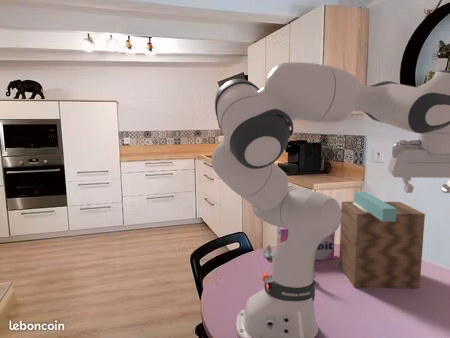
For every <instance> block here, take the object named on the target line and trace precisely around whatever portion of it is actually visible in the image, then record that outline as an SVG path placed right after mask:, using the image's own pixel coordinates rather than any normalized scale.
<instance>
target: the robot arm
mask: <svg viewBox="0 0 450 338" xmlns="http://www.w3.org/2000/svg"><path fill="white" fill-rule="evenodd" d="M214 111H215V115H216V120H217V124H218V128H219V130H221V132H222V134H223V139H222V140H221V142H220V143H219V144H217V145H216V146H215V148H214V150H213V152H212V155H211V161H210V162H211V166H212V169H213V171H214V172H215V174H216V175H217V176H218V177H219V179H221V181H222V182H223V183H224V184H225V185H226V186H227V187H229V189H231V190H232V191H233V192H234V193H235V194H237V195H238V196H240V198H243V199H244V200H245V201H247V202H248V203H250V205H251V207H252V211H253V214H254V215H255V216H256V217H257V218H259V219H260V220H261V221H263V222H265V223H267V224H270V225H272V226H276V227H277V226H279V227H282V228H286V229H288V238H287V240H286V241H284V242H281V243H279V244H278V245H277V244H276V246H275V247H274V248H273V250H272V251H273V253H272V259H271V260H272V261H271V262H272V263H271V265H272V267H271V268H272V269H271V270H272V271H271V275H269V273H267V272H263V273H262V276H261V278H262V282H263V283H264V287H263V288H262V289H261V290H259V291H258V292H256V293H255V294H252V295H251V296H249V298H248V299H247V301H246V303H245V306H244V309H242V310H240V312H239V313H238V314H237V317H236V321H235V329H236V330H235V331H236V333H237V336H238V337H239V338H315V337H316V336H317V335H318V333H319V327H318V322H317V319H316V313H315V304H314V302H315V299H316V298H315V297H316V280H315V278H313V275H314V273H315V271H314V270H315V261H316V260H315V254H316V251H317V248H318V246H319V244H320V243H321V242H322V241H323V240H324V239H325V238H326V237H328V236H330V235H332V234H333V233H334V232H335V233H336V231H338V228H340V226H341V218H342V212H341V206H340V203H339V201H338V200H337V199H336V198H334V197H331V196H329V195H327V194H323V193H321V192H319V191H312V190H307V189H302V188H296V187H293V186H289V177H288V175H287V173H286V172H285V171H284V170H283V169H282V168H281V167H279V166H278V164H276V163H275V162H276V161H277V160H279V159H280V157H281V156H282V155H283V154H284V152H285V150H286V148H287V146H288V143H289V139H290V138H291V136H292V135H293V134H294V123H293V121H294V120H300V121H301V120H303V121H309V122H314V123H325V124H326V123H327V124H328V123H329V124H330V123H339V122H344V121H345V120H347V119H348V118H349V117H350V116H351V115H352V114H353V113H354V112H362V113H364V114H366V116H368V117H369V118H370V119H371V120H373V121H375V122H380V123H384V124H387V125H390V126H393V127H396V128H399V129H401V130H404V131H408V132H410V133H415V134H418V136H417V137H418V138H417V139H416V140H415V139H412V140H405V139H402V140H400V141H398V142H396V143H395V144H394V145H393V147H392V150H391V157H390V160H389V164H388V168H387V169H388V172H389V173H390V174H391V175H392V176H393V177H394V178H401V180H402V182H403V184H404V187H403V191H404V193H406V194H407V193H411V194H412V193H413V192H414V186H413V185H412V184H411V183H410V182H411V181H412V178H421V179H422V178H424V179H425V178H428V179H429V178H430V179H432V178H433V179H434V178H435V179H436V178H438V179H439V178H440V179H441V178H443V179H445V178H446V179H447V178H449V180H448V181H447V183H446V184H444V183H443V184H442V188H441V191H442V192H443V194H450V70H444V69H443V70H438V71H437V70H436V71H435V72H434V74H433V77H431V79H430V80H428V81H427V82H425V83H423V84H421V85H419V86H417V87H416V86H412V85H406V84H401V83H399V82H394V81H388V80H385V81H382V82H378V83H375V84H372V85H367V84H362V83H359V81H358V79H357V77H356V76H355V75H354V74H352V73H351V72H348V71H345V70H344V69H341V68H338V67H335V66H329V65H326V64H319V63H314V62H313V63H312V62H300V61H299V62H298V61H297V62H282V63H279V64H277V65H275V66H274V67H273V68H272V69H271V70H270V71H269V72H268V75H267V77H266V79H265V82H264V85H263V87H261V89H260V88H259V87H258V86H257V85H255V83H253V82H252V81H249V80H247V79H244V78H234V79H231V80H227V81H226V82H224V84H222V85H221V86H220V87H219V89H218V90H217V92H216V94H215V100H214Z"/></svg>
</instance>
